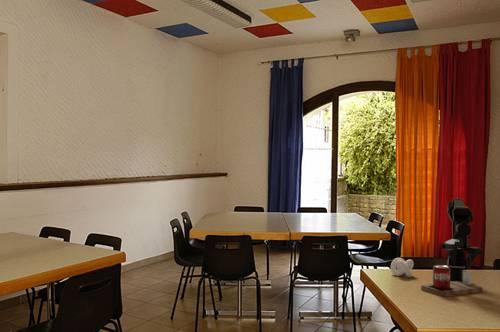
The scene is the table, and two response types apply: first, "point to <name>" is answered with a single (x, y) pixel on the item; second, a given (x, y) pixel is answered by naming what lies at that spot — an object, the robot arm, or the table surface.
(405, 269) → the white rounded piece
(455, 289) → the brown piece
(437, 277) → the soda can
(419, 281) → the table surface
